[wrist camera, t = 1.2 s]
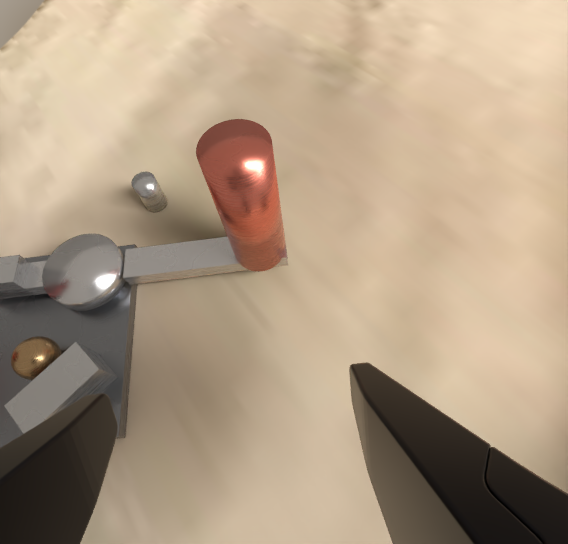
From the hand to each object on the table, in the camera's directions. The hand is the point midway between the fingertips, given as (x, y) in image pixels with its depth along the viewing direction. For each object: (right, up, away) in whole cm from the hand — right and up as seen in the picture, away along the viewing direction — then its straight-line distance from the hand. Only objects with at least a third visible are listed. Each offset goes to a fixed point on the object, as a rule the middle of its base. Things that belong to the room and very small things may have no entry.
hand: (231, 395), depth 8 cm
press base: (-12, +1, +16) cm, 21 cm away
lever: (-8, +3, +16) cm, 18 cm away
